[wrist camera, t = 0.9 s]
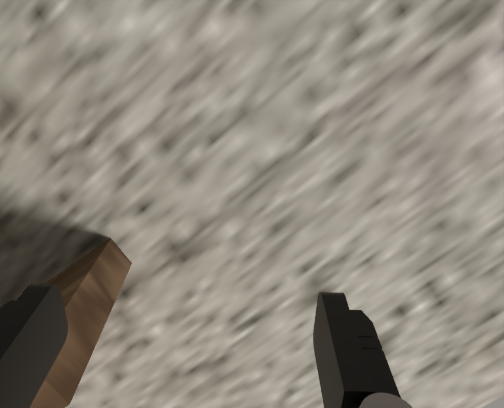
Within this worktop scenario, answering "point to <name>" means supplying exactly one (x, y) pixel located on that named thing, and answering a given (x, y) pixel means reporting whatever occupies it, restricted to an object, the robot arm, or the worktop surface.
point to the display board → (82, 318)
